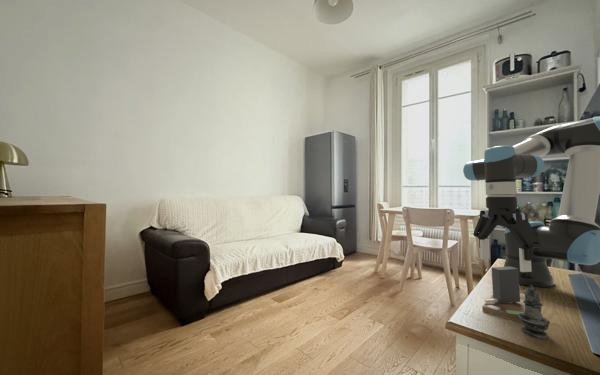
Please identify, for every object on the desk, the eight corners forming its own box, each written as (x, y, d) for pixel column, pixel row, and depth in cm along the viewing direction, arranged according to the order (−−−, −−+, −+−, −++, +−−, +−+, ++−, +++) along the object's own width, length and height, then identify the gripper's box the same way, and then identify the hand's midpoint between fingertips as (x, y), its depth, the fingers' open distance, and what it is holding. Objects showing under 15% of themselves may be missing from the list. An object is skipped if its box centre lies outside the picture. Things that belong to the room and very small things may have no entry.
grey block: (511, 299, 77) (510, 266, 78) (520, 302, 74) (518, 268, 75) (481, 301, 76) (480, 268, 77) (489, 305, 74) (487, 270, 74)
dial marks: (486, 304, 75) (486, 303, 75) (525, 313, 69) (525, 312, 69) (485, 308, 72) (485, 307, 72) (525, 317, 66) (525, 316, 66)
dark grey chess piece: (553, 334, 61) (550, 285, 62) (548, 342, 58) (544, 291, 58) (522, 324, 66) (519, 279, 66) (515, 331, 63) (513, 284, 63)
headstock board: (498, 292, 86) (498, 288, 86) (538, 301, 79) (537, 296, 79) (482, 311, 74) (482, 306, 74) (527, 324, 66) (527, 318, 66)
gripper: (460, 196, 89) (462, 255, 88) (530, 196, 64) (534, 278, 63) (479, 195, 89) (481, 254, 89) (556, 195, 64) (560, 277, 64)
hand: (503, 264), depth 76 cm, fingers open, 13 cm apart
